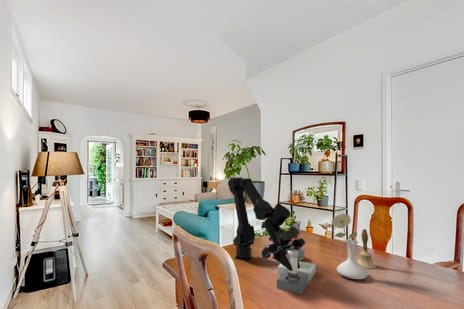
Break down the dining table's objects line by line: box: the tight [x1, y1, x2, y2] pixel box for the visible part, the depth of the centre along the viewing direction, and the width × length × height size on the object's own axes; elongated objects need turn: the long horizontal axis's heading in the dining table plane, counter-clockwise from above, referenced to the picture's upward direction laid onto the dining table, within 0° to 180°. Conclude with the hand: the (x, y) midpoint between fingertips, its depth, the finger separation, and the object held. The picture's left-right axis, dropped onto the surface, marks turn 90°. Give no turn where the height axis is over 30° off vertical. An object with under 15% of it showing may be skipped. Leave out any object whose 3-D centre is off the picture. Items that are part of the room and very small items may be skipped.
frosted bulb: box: [286, 249, 298, 282], centre depth 92 cm, size 4×4×13 cm
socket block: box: [276, 271, 309, 296], centre depth 91 cm, size 9×9×3 cm
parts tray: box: [277, 260, 317, 283], centre depth 103 cm, size 13×10×3 cm
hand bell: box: [356, 228, 377, 270], centre depth 111 cm, size 8×8×16 cm
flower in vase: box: [331, 212, 369, 280], centre depth 101 cm, size 13×11×25 cm
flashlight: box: [285, 247, 306, 261], centre depth 124 cm, size 15×5×5 cm, turn 27°
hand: (295, 269), depth 90 cm, fingers closed on frosted bulb, 3 cm apart
